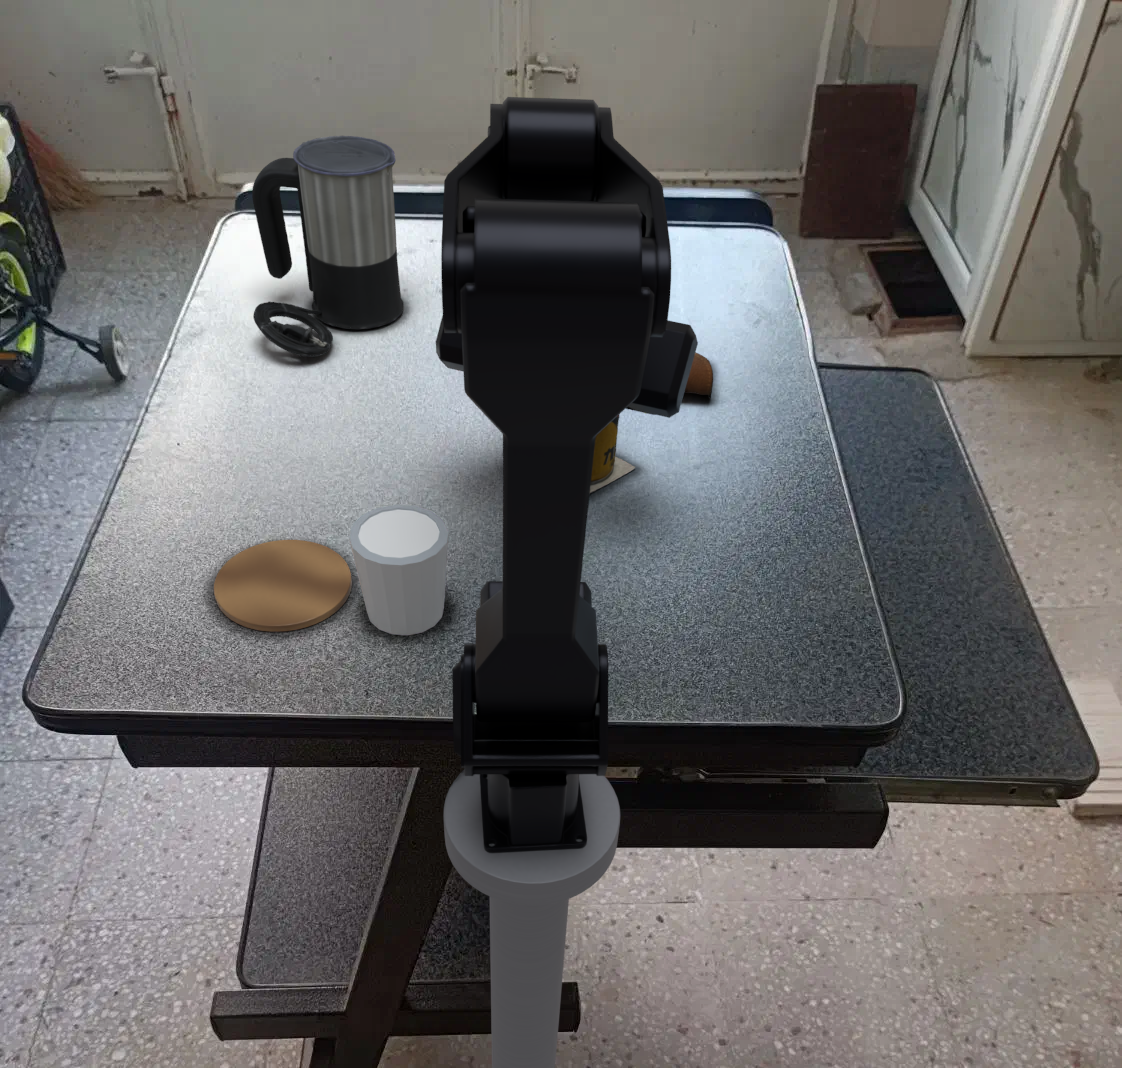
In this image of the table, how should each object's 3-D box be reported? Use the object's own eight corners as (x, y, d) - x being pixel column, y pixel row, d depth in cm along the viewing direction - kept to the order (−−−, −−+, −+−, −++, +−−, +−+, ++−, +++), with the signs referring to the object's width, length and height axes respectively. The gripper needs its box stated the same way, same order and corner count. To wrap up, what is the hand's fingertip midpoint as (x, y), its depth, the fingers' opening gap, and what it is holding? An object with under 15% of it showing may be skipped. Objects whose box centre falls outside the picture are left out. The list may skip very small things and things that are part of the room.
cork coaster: (349, 629, 78) (348, 623, 78) (207, 634, 77) (205, 628, 77) (354, 543, 85) (353, 537, 84) (223, 547, 84) (221, 540, 83)
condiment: (635, 469, 93) (649, 336, 84) (565, 508, 89) (573, 373, 80) (575, 434, 96) (582, 302, 88) (505, 470, 92) (505, 336, 83)
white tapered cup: (408, 654, 77) (401, 577, 71) (338, 613, 79) (327, 535, 74) (471, 605, 80) (469, 528, 75) (402, 567, 83) (396, 490, 78)
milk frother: (404, 288, 114) (394, 133, 103) (408, 364, 103) (397, 202, 92) (266, 290, 112) (240, 133, 101) (255, 368, 102) (225, 203, 91)
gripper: (710, 214, 70) (725, 306, 85) (444, 164, 74) (504, 262, 89) (663, 384, 71) (686, 445, 86) (403, 327, 75) (469, 395, 90)
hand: (585, 382), depth 88 cm, fingers open, 9 cm apart
